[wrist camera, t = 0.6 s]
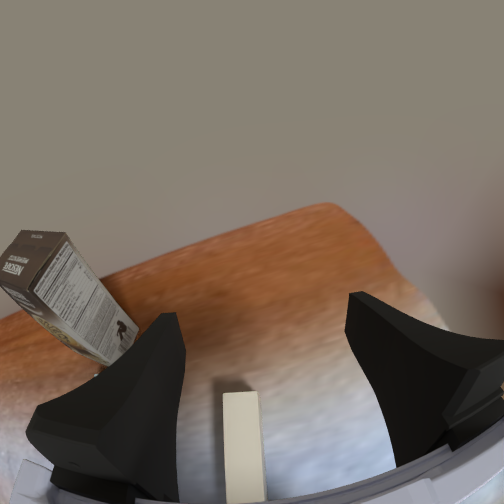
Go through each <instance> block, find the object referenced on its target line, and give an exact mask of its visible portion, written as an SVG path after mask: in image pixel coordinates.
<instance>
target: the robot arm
mask: <svg viewBox="0 0 504 504" xmlns="http://www.w3.org/2000/svg"><path fill="white" fill-rule="evenodd" d="M345 334H346V337H347V339H348V342H349V345H350V347H351V350H352V352H353V354H354V355H355V357H356V359H357V361H358V363H359V365H360V366H361V368H362V370H363V372H364V374H365V375H366V377H367V379H368V381H369V383H370V384H371V386H372V388H373V390H374V392H375V395H376V397H377V400H378V402H379V405H380V408H381V410H382V413H383V416H384V419H385V423H386V426H387V429H388V433H389V436H390V440H391V444H392V448H393V453H394V458H395V463H396V468H395V469H393V470H390V471H388V472H385V473H383V474H380V475H377V476H374V477H372V478H369V479H366V480H363V481H359V482H356V483H353V484H350V485H346V486H343V487H339V488H335V489H331V490H327V491H323V492H319V493H314V494H309V495H304V496H299V497H293V498H287V499H280V500H272V501H264V502H253V503H239V504H458V503H460V502H461V501H463V500H464V499H466V498H467V497H469V496H470V495H471V494H473V493H474V492H476V491H477V490H478V489H480V488H481V487H482V486H484V485H485V484H486V483H487V482H489V481H490V480H491V479H492V478H494V477H495V476H496V475H497V474H498V473H499V472H501V471H502V470H503V469H504V400H503V398H502V397H501V396H502V395H503V394H504V391H503V390H502V388H501V387H500V386H501V385H502V383H503V382H504V340H495V339H482V338H476V337H470V336H465V335H460V334H456V333H453V332H449V331H446V330H443V329H440V328H437V327H434V326H432V325H429V324H426V323H424V322H422V321H419V320H417V319H415V318H413V317H411V316H409V315H407V314H405V313H403V312H401V311H399V310H397V309H395V308H393V307H391V306H390V305H388V304H386V303H384V302H382V301H381V300H379V299H377V298H375V297H373V296H371V295H369V294H367V293H365V292H363V291H360V292H354V293H349V301H348V309H347V317H346V324H345ZM185 358H186V349H185V345H184V342H183V338H182V334H181V331H180V327H179V323H178V319H177V315H176V312H174V313H161V314H160V315H159V317H158V318H157V319H156V320H155V321H154V322H153V323H152V324H151V325H150V327H149V328H148V329H147V330H146V331H145V332H144V333H143V334H142V335H141V337H140V338H139V339H138V340H137V341H136V342H135V343H134V344H133V345H132V346H131V347H130V348H129V349H128V350H127V351H126V352H125V353H124V354H123V355H122V356H121V357H119V358H118V359H117V360H116V361H115V362H114V363H113V364H111V365H110V366H109V367H108V368H106V369H105V370H104V371H102V372H101V373H100V374H98V375H97V376H95V377H94V378H92V379H91V380H89V381H88V382H86V383H85V384H83V385H81V386H80V387H78V388H76V389H74V390H72V391H70V392H68V393H66V394H64V395H62V396H60V397H58V398H55V399H53V400H50V401H48V402H45V403H43V404H40V405H38V406H37V408H36V410H35V412H34V414H33V416H32V418H31V420H30V423H29V425H28V427H27V429H26V431H25V432H26V436H27V438H28V440H29V441H30V443H31V444H32V445H33V446H34V447H35V448H36V449H37V450H38V451H39V452H40V453H41V454H42V455H43V456H44V457H46V458H47V459H48V460H49V461H50V462H51V463H52V464H54V468H53V471H51V470H49V469H47V468H46V467H43V466H41V465H38V464H36V463H34V462H31V461H29V460H27V459H23V461H22V464H21V467H20V470H19V472H18V475H17V478H16V481H15V484H14V488H13V491H12V494H11V498H10V501H9V504H186V503H179V494H178V484H177V468H176V424H177V414H178V408H179V402H180V396H181V390H182V385H183V379H184V373H185Z"/></svg>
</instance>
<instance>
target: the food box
mask: <svg viewBox="0 0 504 504" xmlns="http://www.w3.org/2000/svg"><path fill="white" fill-rule="evenodd" d="M0 287H1V288H2V289H3V290H4V291H5V292H6V293H7V294H8V295H9V296H10V297H11V298H12V299H13V300H14V301H15V302H16V303H17V304H18V305H19V306H21V308H23V309H24V310H25V311H26V312H27V313H28V314H29V315H30V316H31V317H32V318H34V319H35V320H36V321H37V322H38V323H39V324H40V325H42V326H43V327H44V328H45V329H46V330H47V331H49V332H50V333H51V334H52V335H53V336H55V337H56V338H57V339H58V340H60V341H61V342H62V343H64V344H65V345H66V346H67V347H69V348H70V349H71V350H73V351H74V352H76V353H79V354H81V355H83V356H85V357H87V358H90V359H92V360H94V361H96V362H99V363H101V364H103V365H106V366H108V367H109V366H110V365H111V364H113V363H114V362H115V361H116V360H117V359H118V358H119V357H121V356H122V355H123V354H124V353H125V352H126V351H127V350H128V349H129V348H130V347H131V346H132V345H133V342H134V340H135V338H136V335H137V333H138V331H139V327H138V326H137V325H136V324H135V323H134V322H133V321H132V320H131V318H130V317H129V316H128V315H127V314H126V313H125V311H124V310H123V309H122V308H121V307H120V306H119V304H118V303H117V302H116V301H115V299H114V298H113V297H112V296H111V294H110V293H109V292H108V291H107V289H106V288H105V287H104V285H103V284H102V283H101V282H100V280H99V279H98V278H97V276H96V275H95V274H94V272H93V271H92V270H91V268H90V267H89V266H88V264H87V263H86V262H85V260H84V259H83V257H82V256H81V255H80V253H79V252H78V250H77V249H76V247H75V246H74V244H73V243H72V241H71V240H70V238H69V237H68V235H67V234H66V233H65V232H46V231H45V232H44V231H30V230H21V231H20V233H19V234H18V235H17V237H16V238H15V239H14V241H13V242H12V244H10V245H9V247H8V248H7V249H6V250H5V251H4V253H3V254H2V256H1V257H0Z"/></svg>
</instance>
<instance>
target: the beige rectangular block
mask: <svg viewBox="0 0 504 504" xmlns="http://www.w3.org/2000/svg"><path fill="white" fill-rule="evenodd" d="M223 423H224V456H225V480H226V499H227V504H239V503H253V502H264V501H268V496H267V482H266V467H265V453H264V438H263V423H262V409H261V397H260V395H259V393H258V391H250V392H235V393H223Z"/></svg>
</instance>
